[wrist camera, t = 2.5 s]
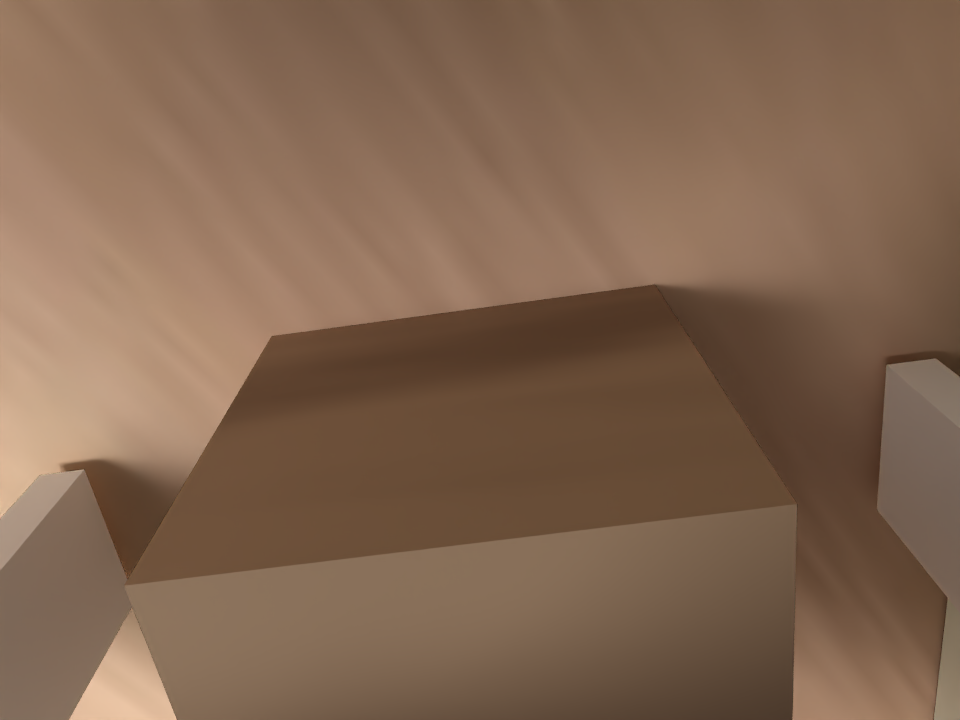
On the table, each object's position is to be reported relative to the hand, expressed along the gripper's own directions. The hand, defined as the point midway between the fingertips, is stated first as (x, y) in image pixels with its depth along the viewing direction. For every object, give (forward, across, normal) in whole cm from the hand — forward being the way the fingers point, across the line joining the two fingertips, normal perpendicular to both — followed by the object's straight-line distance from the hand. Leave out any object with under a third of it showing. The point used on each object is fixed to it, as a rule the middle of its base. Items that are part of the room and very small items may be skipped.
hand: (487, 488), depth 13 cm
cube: (0, 0, 0) cm, 0 cm away
